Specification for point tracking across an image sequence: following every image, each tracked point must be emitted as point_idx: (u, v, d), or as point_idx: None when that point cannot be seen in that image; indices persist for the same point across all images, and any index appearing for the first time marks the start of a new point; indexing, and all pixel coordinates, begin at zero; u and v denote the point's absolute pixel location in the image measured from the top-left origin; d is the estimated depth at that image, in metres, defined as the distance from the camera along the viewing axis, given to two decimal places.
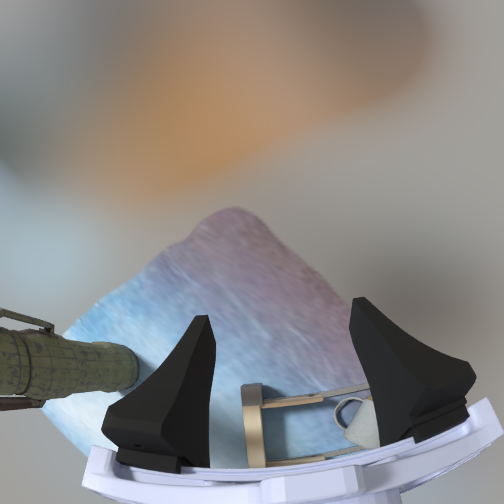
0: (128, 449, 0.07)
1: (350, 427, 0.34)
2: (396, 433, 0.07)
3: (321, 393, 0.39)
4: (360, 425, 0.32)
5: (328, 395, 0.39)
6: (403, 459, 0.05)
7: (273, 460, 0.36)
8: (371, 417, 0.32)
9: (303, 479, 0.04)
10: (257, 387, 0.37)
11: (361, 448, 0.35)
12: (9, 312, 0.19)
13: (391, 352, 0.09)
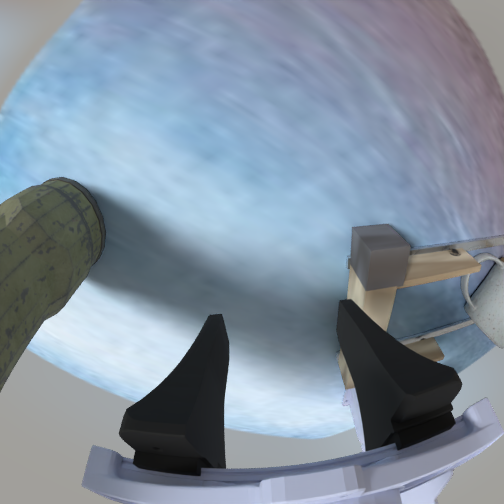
0: (146, 452, 0.07)
1: (485, 308, 0.20)
2: (379, 439, 0.07)
3: (461, 245, 0.20)
4: (501, 311, 0.18)
5: (467, 249, 0.21)
6: (403, 459, 0.05)
7: None
8: None
9: (303, 479, 0.04)
10: (403, 249, 0.16)
11: (468, 324, 0.26)
12: None
13: (374, 356, 0.09)
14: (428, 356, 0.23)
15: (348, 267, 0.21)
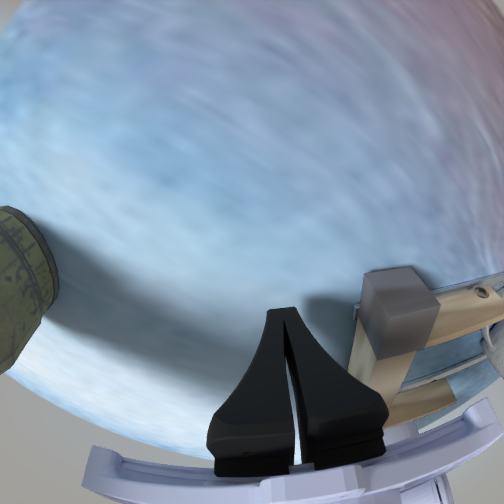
0: (228, 459, 0.07)
1: None
2: (304, 455, 0.07)
3: (488, 281, 0.15)
4: None
5: (494, 284, 0.15)
6: (403, 459, 0.05)
7: None
8: None
9: (303, 479, 0.04)
10: (431, 310, 0.11)
11: (483, 358, 0.21)
12: None
13: (297, 370, 0.09)
14: (439, 402, 0.18)
15: (355, 318, 0.16)
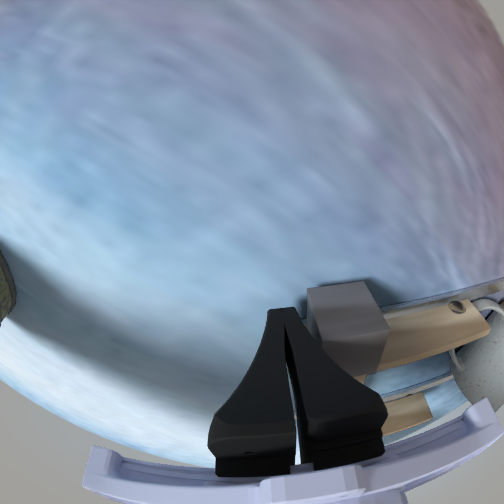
0: (229, 458, 0.07)
1: (475, 370, 0.14)
2: (303, 454, 0.07)
3: (454, 297, 0.15)
4: (495, 377, 0.12)
5: None
6: (403, 459, 0.05)
7: None
8: None
9: (303, 479, 0.04)
10: (378, 334, 0.10)
11: None
12: None
13: (296, 370, 0.09)
14: (413, 418, 0.18)
15: None
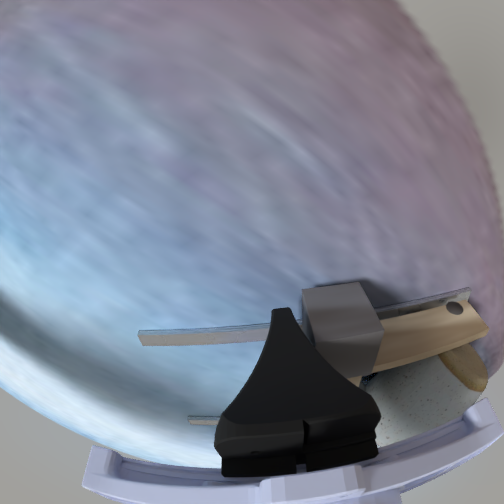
0: (235, 459, 0.07)
1: (378, 406, 0.15)
2: None
3: None
4: (403, 418, 0.13)
5: None
6: (403, 459, 0.05)
7: None
8: (433, 411, 0.12)
9: (303, 479, 0.04)
10: (372, 336, 0.10)
11: None
12: None
13: None
14: None
15: (143, 344, 0.16)
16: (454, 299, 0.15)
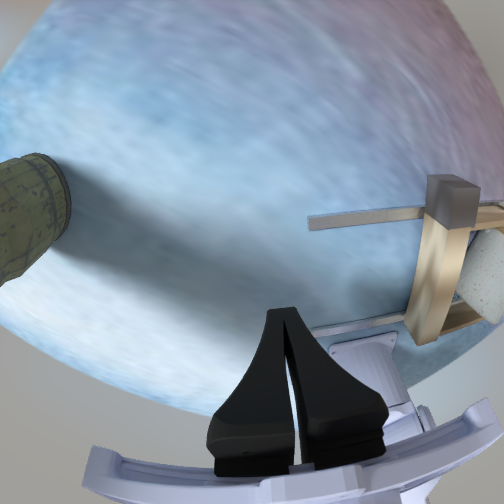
0: (228, 459, 0.07)
1: (469, 277, 0.19)
2: (304, 454, 0.07)
3: None
4: (489, 280, 0.17)
5: None
6: (403, 459, 0.05)
7: (347, 326, 0.25)
8: None
9: (303, 479, 0.04)
10: (476, 191, 0.14)
11: (460, 302, 0.25)
12: None
13: (297, 370, 0.09)
14: None
15: (310, 228, 0.20)
16: None
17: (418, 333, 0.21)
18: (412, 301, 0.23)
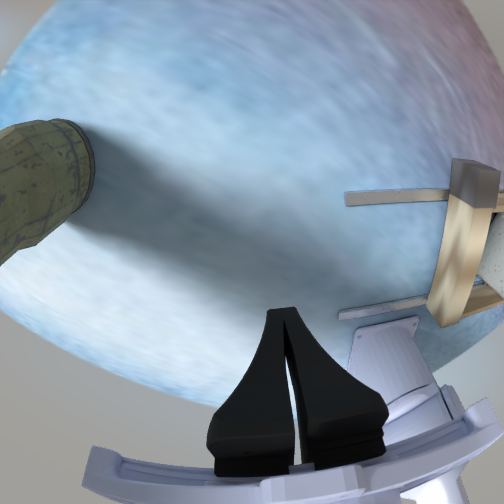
0: (228, 459, 0.07)
1: (489, 259, 0.18)
2: (304, 455, 0.07)
3: None
4: None
5: None
6: (403, 459, 0.05)
7: (374, 308, 0.25)
8: None
9: (303, 479, 0.04)
10: (497, 173, 0.14)
11: None
12: None
13: (297, 370, 0.09)
14: (496, 297, 0.21)
15: (346, 204, 0.20)
16: None
17: (442, 314, 0.21)
18: (436, 283, 0.22)
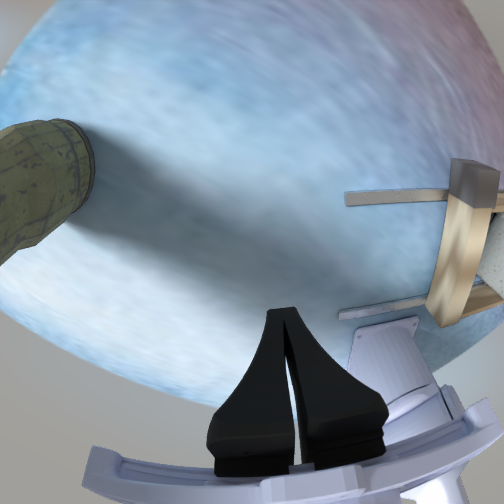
0: (228, 459, 0.07)
1: (488, 259, 0.18)
2: (304, 455, 0.07)
3: None
4: None
5: None
6: (403, 459, 0.05)
7: (374, 308, 0.25)
8: None
9: (303, 479, 0.04)
10: (496, 173, 0.14)
11: None
12: None
13: (297, 370, 0.09)
14: (496, 297, 0.21)
15: (346, 204, 0.20)
16: None
17: (442, 314, 0.21)
18: (435, 283, 0.22)
